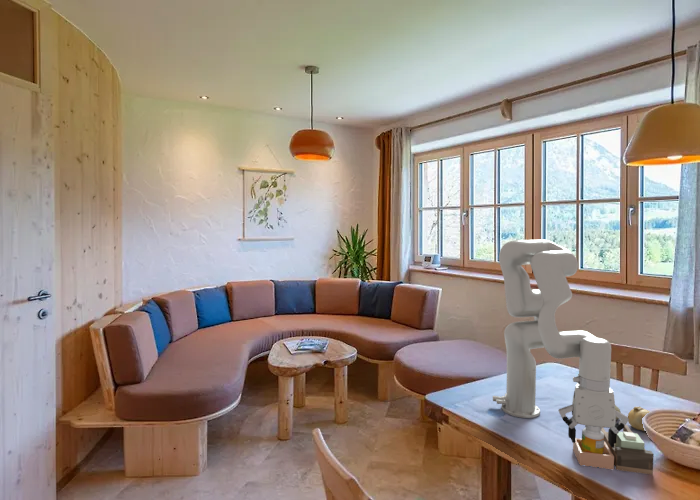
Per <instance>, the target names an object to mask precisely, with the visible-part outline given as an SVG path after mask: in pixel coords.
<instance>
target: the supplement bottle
mask: <svg viewBox="0 0 700 500" xmlns="http://www.w3.org/2000/svg"><path fill="white" fill-rule="evenodd" d="M601 429H602V427H597V426H588V425H584V428H583V429H581V430H582V431H581V439H582V450H581V451H582V452H589V453H597V454H604V434H603V432H602V431H601Z"/></svg>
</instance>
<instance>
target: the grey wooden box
mask: <svg viewBox="0 0 700 500" xmlns="http://www.w3.org/2000/svg"><path fill="white" fill-rule="evenodd" d="M601 431H602V432H603V434H604V442H606V444H607V446H608V447H609V449H610V451H611V452H612V454H613V456H614V469H616V471H622V472H629V473H638V474H645V475H651V476H652V475H654V453H653V451H652V450H647V449H646V448H645V447H644V450H639V449H631V448H623V447H615V443H614V448H612V447H611V446H610V444H609V443H608V431H606V429H605V427H602V429H601ZM622 432H631V433H634V432H633V431H632V430H631V429H630V427H629V426H628V424H626V425H625V427H624V428H623V429H622Z"/></svg>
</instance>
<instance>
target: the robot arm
mask: <svg viewBox="0 0 700 500" xmlns="http://www.w3.org/2000/svg"><path fill="white" fill-rule="evenodd" d="M498 255H499V256H498V261H499V266H500V270H501V272H502V276H503V282H504V285H503V286H504V296H505V304H506V306H505V307H506V310H507V313H508V314H509V316H511V317H513V318H531V317H533V319H534V320H523V321H521V320H520V321H513V322H511V323H509V324H508V325H506V327H505V328H504V331H503V333H504V334H503V335H504V344H505V348H506V393H504V395H501V396H499V395H492V402H496V404H497V405H501V410H502V411H503V412H504V413H506V414H508V415H509V416H512V417H516V418H521V419H532V418H537V417H539V416H540V415H541V408H539V406H537V405H536V395H537V394H536V391H537V389H536V387H537V384H536V383H537V362H536V358H535V356H534V355H533V354H532V352H531V350H533V349H534V350H535V349H543V348H544V349H545V350H546V352H547V353H548V355H549V356H551V357H552V358H554V359H558V360H559V359H570V358H571V359H572V358H579V363H578V373H577V376H573V377H572V382H573V383H576V385H575V387H574V391H573V396H572V402H571V403H572V404H569V405H567V406H564V407H561V408H558V413H559V415H560V417H561V419H562V421H563V422H564V423H565V424H566V425H567V426H568V433H567V434H568V438H569V439H570V440H571V442H572V443H575V441H576V438H577V437H576V436H577V429H576V426H578V425H583V426H585V425H588V426H597V427H603V428H607V429H608V431H607V432H608V443H609V444H610V446H611V447H612V448H614V443H616V441H617V434H618V433H619V432H621V431H623V428H624V427H625V425H628V423H629V422H628V421H629V419H628V415H625V414H623V413H622V412H621V411H620V412H621V413H620V412H618V411H616V410H615V405H616V402H615V401H616V399H615V394H614V391H613V389H612V388H611V368H612V367H611V366H612V365H611V364H612V362H611V361H612V344H611V342H610V341H609V340H607V339H605V338H601V337H597V336H596V335H594V334H592V333H590V332H588V331H586V330H582V329H581V330H565V331H559V329H558V326H557V324H556V315H555V314H556V311H557V310H558V309H559V307H560V306H562V305H563V304H565V303H567V302H569V301H570V300H571V299H572V297H573V292H572V290H571V287H570V284H569V281H568V280H567V277H571V276H574V275H575V274H577V271H578V269H579V263H578V259H577V258H576V256H575V254H574V253H572V252H571V251H570V250H569V249H568V248H565V247H563V246H561V245H560V244H556V243H555V242H553V241H551V240H549V239H518V240H517V239H516V240H511V241H508V242H505V243H504V244H503V245H502V246H501V248H500V251H499V253H498ZM524 265H526V266H527V265H530V268H531V270H532V273H533V276H534V280H535V281H536V285H537V288H538V289H532V288H531V279H530V275H529V273H528V272H527V270H525V268H524V267H523V266H524ZM569 413H571V415H572V416H571V417H570V418H569V417H568V416H567V414H569ZM616 417H618V418H619V419H620V420H619V421H618V422H616V421H617V420H616Z"/></svg>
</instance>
